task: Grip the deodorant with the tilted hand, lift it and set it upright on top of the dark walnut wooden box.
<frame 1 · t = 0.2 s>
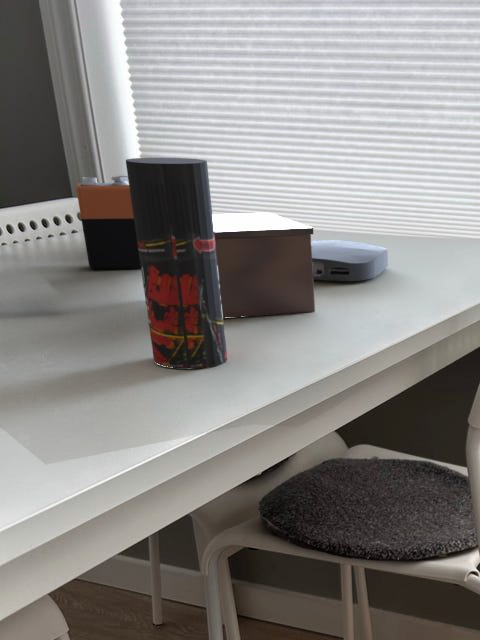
walnut box: (239, 304, 99), on the table
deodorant: (191, 362, 80), on the table
battery: (119, 268, 116), on the table
media streaming box: (324, 273, 118), on the table
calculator: (175, 251, 129), on the table
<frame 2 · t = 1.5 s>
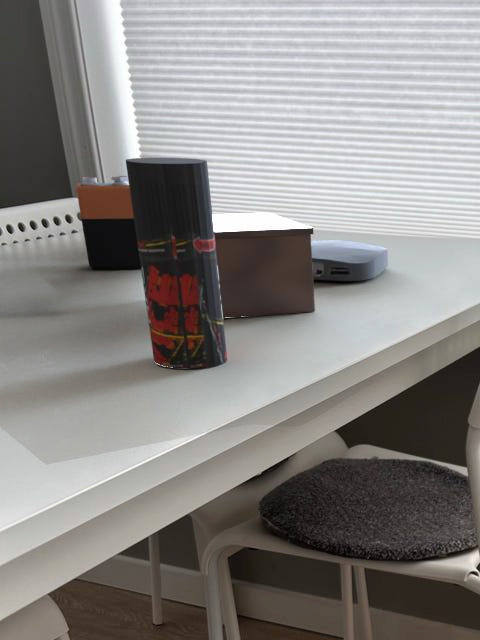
nothing on the table moved.
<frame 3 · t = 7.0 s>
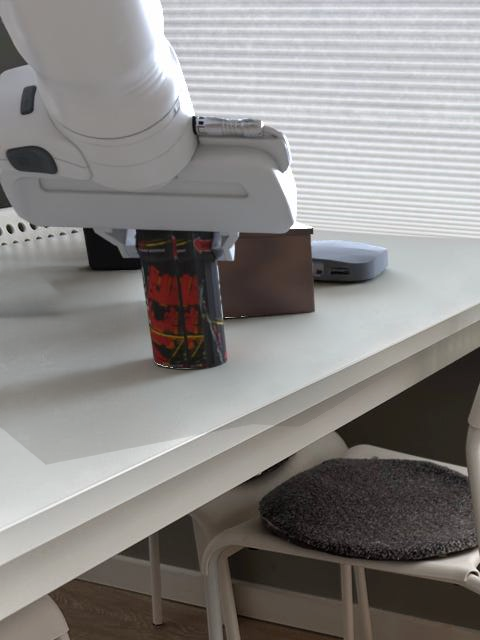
hand: (179, 252, 76), 8 cm above the table, tool tilted 45°, fingers closed on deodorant, 6 cm apart
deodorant: (191, 362, 80), on the table, touching gripper
everything else where it was.
when the fingers open (16 cm above the table, at t = 15.4 s): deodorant stays where it is, resting on walnut box.
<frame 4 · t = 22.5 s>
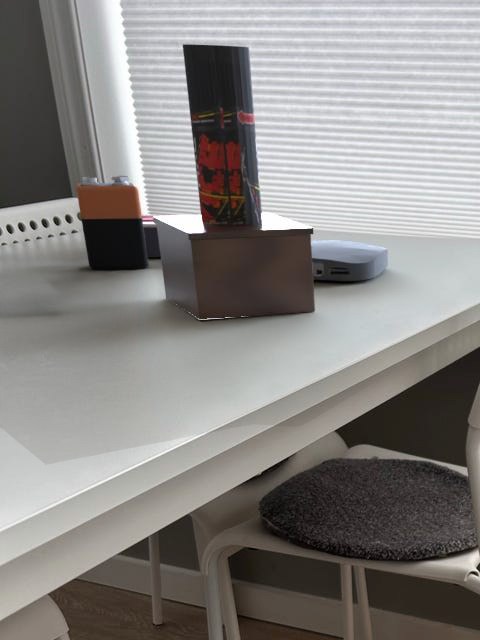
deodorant: (232, 224, 95), point 8 cm above the table, touching walnut box
everything else where it was.
at the end: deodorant inside the target area on the walnut box (0.1 cm from its centre), point 7.8 cm above the walnut box's base; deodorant tilted 0°; the gripper is holding nothing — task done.
